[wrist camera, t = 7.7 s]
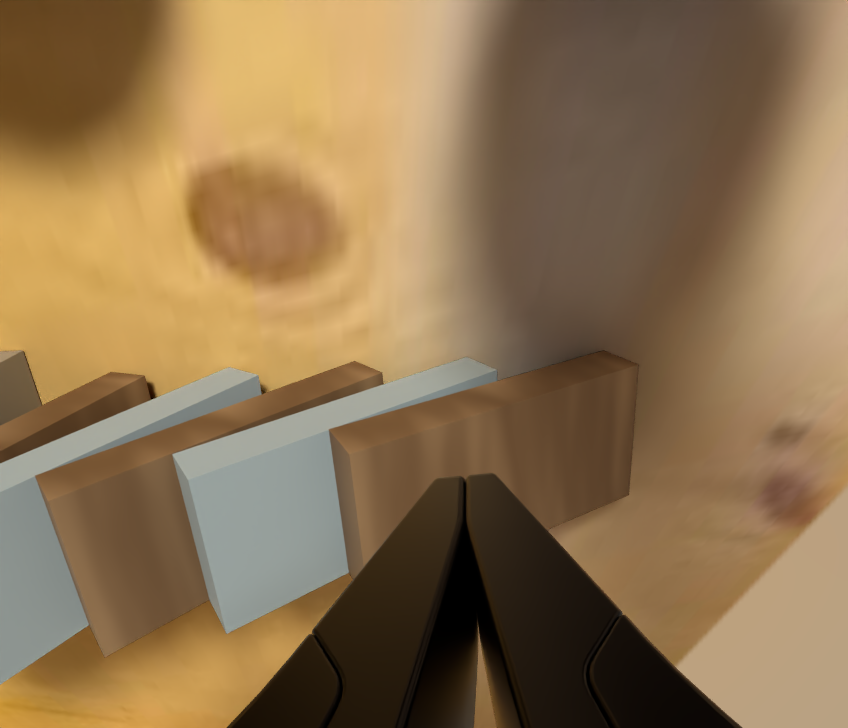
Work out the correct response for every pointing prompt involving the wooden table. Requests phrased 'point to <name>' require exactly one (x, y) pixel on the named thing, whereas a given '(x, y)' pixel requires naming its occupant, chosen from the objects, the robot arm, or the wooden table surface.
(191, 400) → the domino
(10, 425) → the domino
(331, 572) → the domino
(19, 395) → the bookend
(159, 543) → the domino
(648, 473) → the wooden table surface
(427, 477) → the domino
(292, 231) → the wooden table surface
